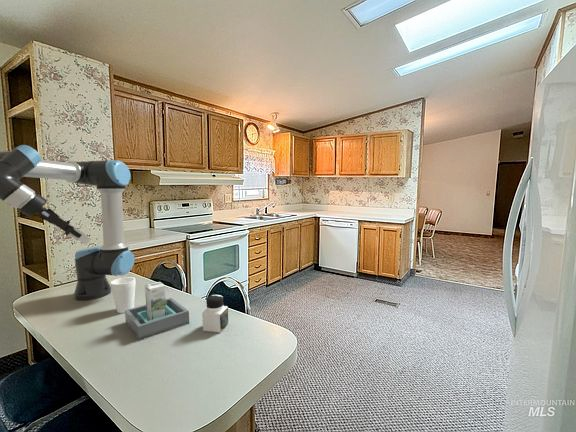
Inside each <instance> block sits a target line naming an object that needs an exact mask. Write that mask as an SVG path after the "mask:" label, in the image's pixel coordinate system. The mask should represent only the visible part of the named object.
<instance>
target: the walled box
mask: <svg viewBox="0 0 576 432" xmlns="http://www.w3.org/2000/svg"><path fill="white" fill-rule="evenodd" d="M166 313H167V316H163V317H160V318H157V319H153V320H150V321H148V320H147V310H146V304H143V305H140V306H139V305H138V306H134V308H132V309H128V310H125V313H124V315H125V323H126V325H127V326H128V328H129V329H130V330H131V332H132V333H133V334H134V335H135V337H136V336H137V337H136V338H137V340H139V341H141V339H142V340H145V339H148V338H150V337H154V336H156V335H160V334H162V333H165V332H169V331H171V330H173V329H177V328H179V327H183V326H186V325H189V324H190V312H189V310H188V309H186V308H185V306H183V305H181V304H180V303H179V302H178V301H176V300H175V299H174V298H172V297H168V298H166ZM153 335H154V336H153ZM144 338H145V339H144Z"/></svg>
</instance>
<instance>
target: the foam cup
mask: <svg viewBox="0 0 576 432" xmlns="http://www.w3.org/2000/svg"><path fill="white" fill-rule="evenodd" d="M136 281H137V280H136V278H135V277H134V276H133V277H132V276H127V277H119V278H115V279H112V280H111V281H110V282H109V284H110V286H111V292H112V296H113V300H114V305H115V310H116V312H117V313H118V314H125V310H128V309H132V308H135V297H136V296H135V295H136V294H135V293H136V284H137V283H136Z"/></svg>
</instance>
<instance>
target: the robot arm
mask: <svg viewBox="0 0 576 432" xmlns="http://www.w3.org/2000/svg"><path fill="white" fill-rule="evenodd" d="M24 177H26V178H34V179H35V178H37V179H50V180H61V181H62V180H64V181H67V182H68V183H70V184H71V183H72V184H81V185H87V186H93V187H94V186H96V190H97V191H98V192H99V193H100V201H101V202H100V204H101V205H100V206H101V221H102V222H101V223H102V238H103V239H102V240H103V241H102V242H103V245H101V246H91V247H88V248H82V249H79V250H77V251H76V252H75V253H74V262H75V263H74V264H75V272H76V278H77V282H76V286H75V289H74V294H73V295H74V299H75V300H78V301H89V300H95V299H100V298H102V297H105V296H107V295H109V294H110V293H111V292H112V289H111V285H110V282H109V280H108V278H107V276H114V277H117V276H125V275H127V274H128V273H130V271H131V270H132V268H133V266H134V264H135V254H134V253H133V251H130V250H129V245H128V244H126V243H125V231H124V230H125V229H124V228H125V226H124V211H123V210H124V209H123V205H124V204H123V192H124V191H126V186H127V185H128V184H130V181H131V178H132V177H131V172H130V169H129V167H128V166H127V165H126V163H125V162H123V161H121V160H117V159H116V160H114V159H106V160H88V161H72V160H70V161H67V162H64V161H55V160H47V159H42V157H41V155H40V153H39V152H38V151H37V150H36V149H34V148H33V147H31V146H30V145H26V144H21V145H19V146H16V147H14V149H12V150H9V151H8V150H7V151H5V150H4V151H0V200H1V201H4V202H5V206H7V207H9V206H11V207H12V208H14V209H18V211H19V212H20V213H22V214H23V215H25V216H27V217H29V218H30V217H32V216H34V215H35V214H37V213H38V214H39V218H40V219H41V220H44V221H46V222H48V223H49V224H51V225H53V226H56V227H58V228H59V229H60V230H62V231H63V232H64V235H65V236H71V237H72V238H74V239H75V240H77V241H78V242H81V243H82V244H84V245H85V246H86V245H88V244H89V243H90V241H91V240H92V238H91V237H89V236H88V235H87V234H86V233H84V232H83V231H81V230H80V229H79V228H77V227H76V226H74V225H72V223H71V221H69V220H67V221H66V220H64V219H62V218H61V216H60V215H58V213H55V211H54V210H53V209H51V208H50V207H49V208H47V207H45V205H46V204H47V203H48V199H46V198H45V197H44V196H42V195H40V194H39V193H38V194H37V193H36V191H35V190H33V189H32V188H30V186H27V185H26V184H24V183H22V182H21V181H20V180H21V179H22V178H24Z"/></svg>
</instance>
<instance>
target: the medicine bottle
mask: <svg viewBox="0 0 576 432" xmlns="http://www.w3.org/2000/svg"><path fill="white" fill-rule="evenodd" d="M205 301H206V309H205V310H204V311H203V312H202V313H201V314H202V315H201V318H202V330H203V332H211V333H220V334H221V333H222V332H223V331H224V329H225V328H226V327H228V325H229V307H228V306H227V305H224V296H222V295H220V294H212V295H209V296H208V297H206V299H205Z"/></svg>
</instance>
